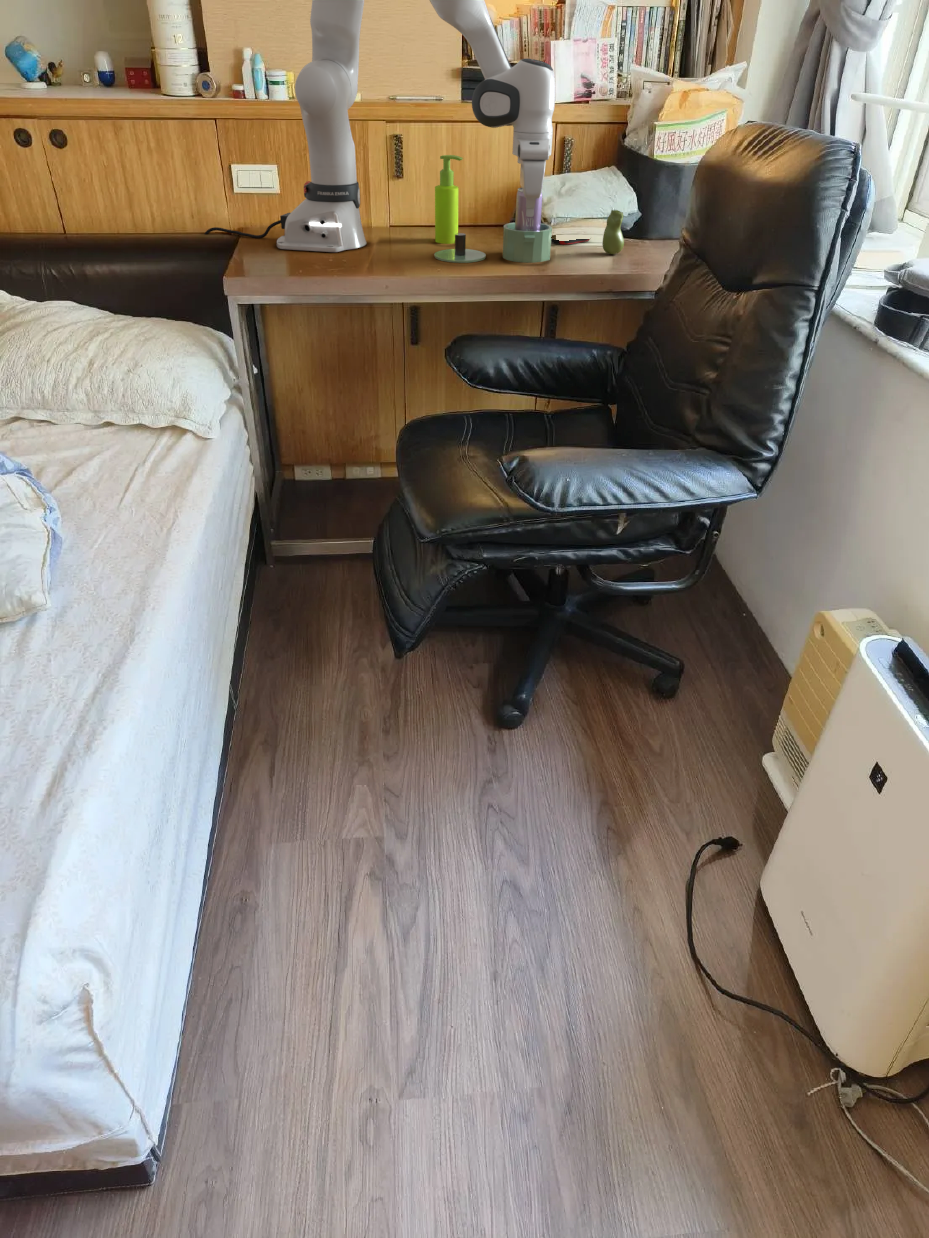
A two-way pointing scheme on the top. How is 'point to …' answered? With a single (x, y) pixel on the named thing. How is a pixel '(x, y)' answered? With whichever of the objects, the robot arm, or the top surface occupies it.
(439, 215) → the soap dispenser
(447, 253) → the pot lid
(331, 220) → the robot arm
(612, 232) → the pear
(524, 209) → the beverage can
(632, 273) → the top surface
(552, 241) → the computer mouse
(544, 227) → the pot
